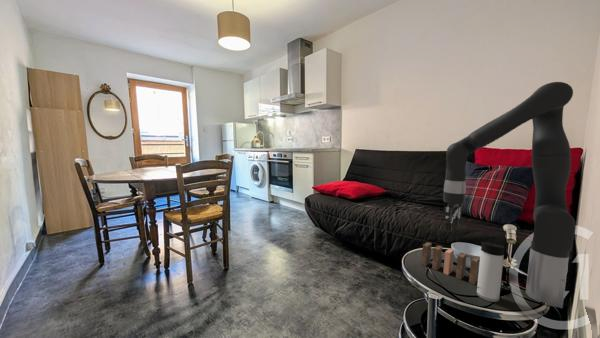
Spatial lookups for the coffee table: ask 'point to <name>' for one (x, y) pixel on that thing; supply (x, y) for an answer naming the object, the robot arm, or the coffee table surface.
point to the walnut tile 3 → (461, 265)
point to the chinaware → (466, 251)
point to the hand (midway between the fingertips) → (451, 229)
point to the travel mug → (490, 271)
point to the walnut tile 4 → (474, 270)
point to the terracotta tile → (448, 261)
